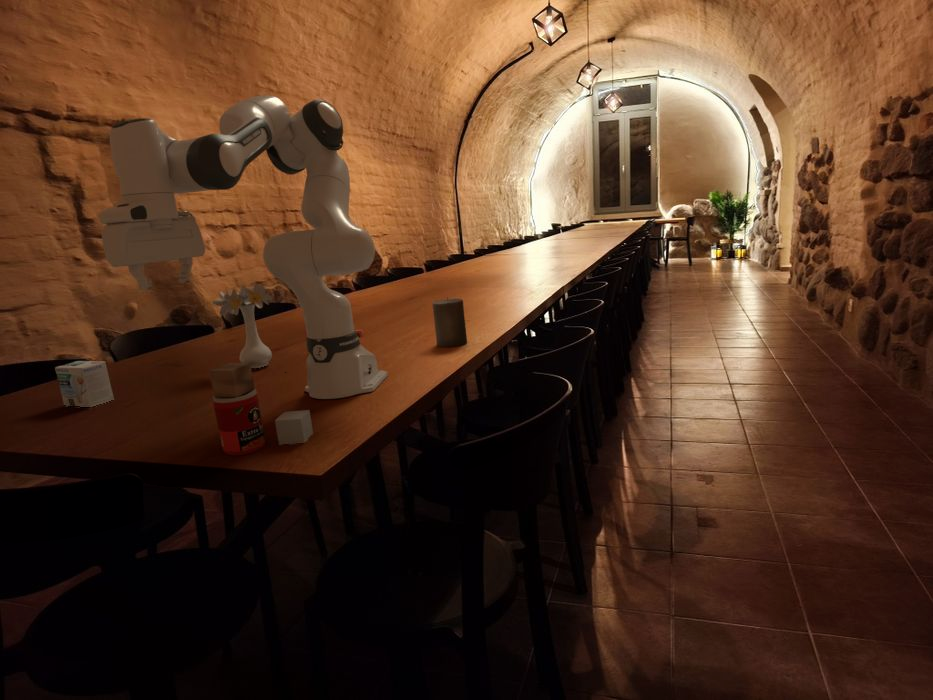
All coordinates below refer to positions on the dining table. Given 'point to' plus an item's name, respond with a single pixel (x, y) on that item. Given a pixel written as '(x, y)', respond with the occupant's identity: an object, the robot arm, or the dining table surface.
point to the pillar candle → (449, 322)
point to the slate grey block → (294, 427)
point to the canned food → (239, 423)
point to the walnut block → (232, 380)
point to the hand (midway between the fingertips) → (166, 285)
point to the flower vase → (248, 321)
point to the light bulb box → (84, 383)
